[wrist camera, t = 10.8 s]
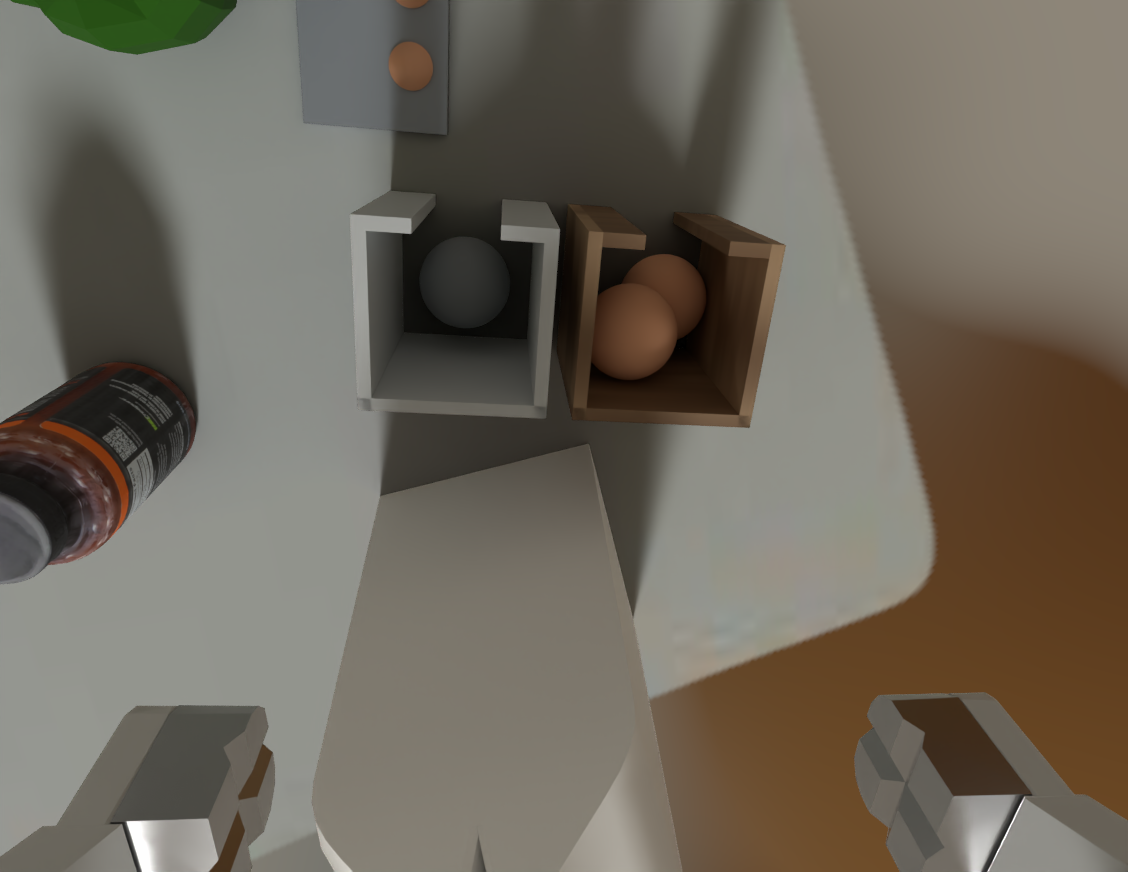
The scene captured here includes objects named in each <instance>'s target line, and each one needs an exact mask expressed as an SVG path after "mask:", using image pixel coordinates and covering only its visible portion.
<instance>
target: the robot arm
mask: <svg viewBox="0 0 1128 872" xmlns="http://www.w3.org/2000/svg"><path fill="white" fill-rule="evenodd" d="M867 717H868V718H869V720H870V722H871V724H872V725H873V728H872V729H871V730H870V731H869V732H868V733H866V734H865V735H864V736H863V737H862V738H860V740H859V742H858V746H857V750H856V754H855V757H854V758H855V773H856V780H857V784H858V787H859V790H860V793H861V796H862V798H863V800H864V802H865V804H866V806H867V808H868V810H869V812H870V813H871V814H872V815H873V816H875V817H876V818H877V819H879V820H880V821H881V822H882V823H883V824H885V825H886V826H887V827H888V828H889V829H888V835H887V840H886V846H887V847H888V849H889V851H890V853H891V855H892V857H893V859H894V861H895V863H896V865H897V866H898V869H899V871H900V872H1128V821H1127V820H1126V819H1124V818H1122V817H1121V816H1119V815H1118V814H1116V813H1114V812H1113V811H1111V810H1110V809H1108V808H1106V807H1105V806H1103V805H1102V804H1100V803H1098V802H1097V801H1095V800H1094V799H1092V798H1090V797H1089V796H1087V795H1074V793H1073V792H1072V791H1071V790H1070V789H1069V788H1068V786H1067V785H1066V784H1065V783H1064V781H1063V780H1062V779H1061V778H1060V776H1059V775H1058V774H1057V773H1056V772H1055V770H1054V769H1053V768H1052V767H1051V766H1050V764H1049V763H1048V762H1047V761H1046V759H1045V758H1044V757H1043V756H1042V755H1041V754H1040V752H1039V751H1038V750H1037V749H1036V747H1035V746H1034V745H1033V744H1032V743H1031V741H1030V740H1029V739H1028V738H1027V737H1026V735H1025V734H1024V733H1023V732H1022V730H1021V729H1020V728H1019V727H1018V726H1017V724H1016V723H1015V722H1014V721H1013V719H1012V718H1011V717H1010V716H1009V715H1008V713H1007V712H1006V711H1005V710H1004V709H1003V707H1002V706H1001V705H1000V704H999V702H998V701H997V700H995V699H994V698H993V697H991V696H990V695H988V694H986V693H954V694H953V693H950V694H907V695H879V696H878V697H877V698H876V699H875V700H874V701H872V703H871V706H870V709H869V711H868V714H867ZM267 730H268V722H267V718H266V713H265V708H263V707H260V706H196V705H179V706H136V707H135V708H133V709H132V710H131V711H130V712H128V713H127V714H126V715H125V716H124V717H123V719H122V721H121V722H120V724H119V725H118V727H117V729H116V730H115V732H114V733H113V735H112V737H111V738H110V740H109V742H108V743H107V745H106V746H105V748H104V750H103V751H102V753H101V754H100V756H99V758H98V759H97V761H96V762H95V764H94V766H93V767H92V769H91V770H90V772H89V774H88V775H87V777H86V779H85V780H84V782H83V783H82V785H81V787H80V788H79V790H78V791H77V793H76V795H75V796H74V798H73V799H72V801H71V803H70V804H69V806H68V807H67V809H66V811H65V812H64V814H63V815H62V817H61V819H60V820H59V822H58V824H57V825H56V826H42V827H41V828H39V829H38V830H37V831H35V832H34V833H33V834H31V835H30V836H28V837H27V838H26V839H24V840H23V841H21V842H20V843H19V844H17V845H16V846H15V847H13V848H12V849H10V850H9V851H8V852H6V853H5V854H3V855H2V856H1V857H0V872H251V869H252V864H251V859H250V854H249V848H248V846H249V845H250V844H251V843H252V842H253V841H254V840H256V839H257V838H258V837H259V836H260V835H261V834H262V833H263V832H264V829H265V826H266V823H267V820H268V816H269V813H270V810H271V804H272V798H273V792H274V786H275V764H274V757H273V752H272V751H271V750H269V749H268V748H267V747H266V746H265V745H264V744H263V741H264V738H265V735H266V733H267Z"/></svg>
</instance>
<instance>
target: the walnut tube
mask: <svg viewBox="0 0 1128 872" xmlns="http://www.w3.org/2000/svg"><path fill="white" fill-rule="evenodd" d="M673 223H674V224H676V225H677V226H679V227H681V228H682V229H684V230H686V231H687V232H689V233H691V234H692V235H694V236H696V237H697V238H699V239H701V240H702V244H701V250H700V257H699V263H698V270H697V271H698V272H699V273H700V275H701V277H702V279H703V281H704V284H705V288H706V306H705V310H704V313H703V315H702V318H701V319H700V321H699V323H698V324H697V325H696V327H695V328H694V329H693V330H692V331H691V332H690V333H688V335H687V342H686V348H674V350H673V353H672V354H671V356H670V358H669V359H668V361H667V362H666V363H665V364H664V365H663V366H662V367H661V368H660V369H659V370H658V371H656V372H655V373H653V374H651V375H649V376H647V377H644V378H641V379H637V380H622V379H617V378H613V377H611V376H608V375H606V374H605V373H603V372H601V371H600V370H599V369H598V368H596V366H595V365H594V364H593V363H592V362H591V355H592V345H593V335H594V325H595V315H596V304H597V294H598V284H599V274H600V263H601V253H602V247H608V248H622V249H637V250H645V243H646V235H645V234H644V233H643V232H642V231H640V230H639V229H638V228H637V227H635V226H634V225H633V224H632V223H630V222H629V221H628V220H627V219H625V218H624V217H623V216H621V215H620V214H619V213H618V212H616V211H615V210H614V209H613V208H611V207H602V206H588V205H575V204H568V211H567V223H566V236H565V249H564V262H563V275H562V288H561V301H560V314H559V327H558V340H557V354H558V359H559V363H560V368H561V372H562V377H563V381H564V386H565V390H566V395H567V399H568V403H569V408H570V412H571V417H572V420H588V421H610V422H633V423H655V424H678V425H701V426H723V427H746V428H749V427H750V422H751V417H752V412H753V407H754V402H755V397H756V392H757V387H758V382H759V377H760V372H761V367H762V362H763V357H764V352H765V347H766V342H767V337H768V332H769V327H770V322H771V317H772V312H773V307H774V302H775V297H776V292H777V287H778V282H779V277H780V272H781V267H782V262H783V257H784V252H785V247H786V245H784V244H782V243H779V242H777V241H775V240H773V239H770V238H768V237H766V236H763V235H761V234H759V233H756V232H754V231H752V230H749V229H747V228H745V227H743V226H740V225H738V224H736V223H733V222H731V221H729V220H726V219H724V218H722V217H720V216H717V215H708V214H695V213H682V212H675V213H674V220H673Z"/></svg>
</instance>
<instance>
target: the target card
mask: <svg viewBox="0 0 1128 872" xmlns="http://www.w3.org/2000/svg"><path fill="white" fill-rule="evenodd" d="M296 10H297V26H298V42H299V58H300V73H301V89H302V105H303V121H304V123H310V124H321V125H333V126H345V127H357V128H369V129H381V130H393V131H405V132H417V133H429V134H441V135H448V56H449V0H296Z"/></svg>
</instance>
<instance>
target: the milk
mask: <svg viewBox="0 0 1128 872" xmlns="http://www.w3.org/2000/svg"><path fill="white" fill-rule="evenodd" d="M312 806H313V811H314V816H315V821H316V826H317V831H318V835H319V840H320V845H321V849H322V851H323V853H324V854H325V856H326V858H327V860H328V861H329V863H330V865H331V866H332V868H333V870H334V871H335V872H682V867H681V862H680V857H679V852H678V846H677V842H676V836H675V831H674V826H673V821H672V816H671V810H670V806H669V800H668V795H667V790H666V785H665V780H664V775H663V769H662V765H661V759H660V755H659V749H658V744H657V739H656V734H655V728H654V723H653V718H652V713H651V708H650V702H649V697H648V692H647V687H646V682H645V677H644V672H643V666H642V661H641V656H640V651H639V646H638V641H637V636H636V631H635V625H634V620H633V616H632V612H631V608H630V604H629V600H628V596H627V592H626V588H625V584H624V580H623V576H622V572H621V568H620V564H619V561H618V557H617V553H616V549H615V545H614V541H613V537H612V533H611V529H610V525H609V521H608V517H607V513H606V509H605V505H604V501H603V497H602V493H601V489H600V485H599V481H598V477H597V473H596V469H595V465H594V461H593V458H592V454H591V450H590V446H589V443H588V444H585V445H581V446H577V447H573V448H569V449H565V450H561V451H557V452H553V453H549V454H545V455H541V456H537V457H533V458H529V459H525V460H521V461H517V462H513V463H509V464H505V465H502V466H498V467H494V468H490V469H486V470H482V471H478V472H474V473H470V474H466V475H462V476H458V477H454V478H450V479H446V480H442V481H438V482H434V483H430V484H426V485H422V486H418V487H415V488H411V489H407V490H403V491H399V492H395V493H391V494H387V495H383V496H380V499H379V503H378V508H377V512H376V516H375V521H374V525H373V529H372V533H371V538H370V542H369V546H368V551H367V555H366V559H365V563H364V568H363V572H362V576H361V581H360V585H359V589H358V593H357V598H356V602H355V606H354V611H353V615H352V619H351V623H350V628H349V632H348V636H347V641H346V645H345V649H344V653H343V658H342V662H341V666H340V670H339V675H338V679H337V683H336V688H335V692H334V696H333V700H332V705H331V709H330V713H329V718H328V722H327V726H326V730H325V735H324V739H323V743H322V748H321V752H320V756H319V760H318V765H317V769H316V773H315V778H314V783H313V793H312Z"/></svg>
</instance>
